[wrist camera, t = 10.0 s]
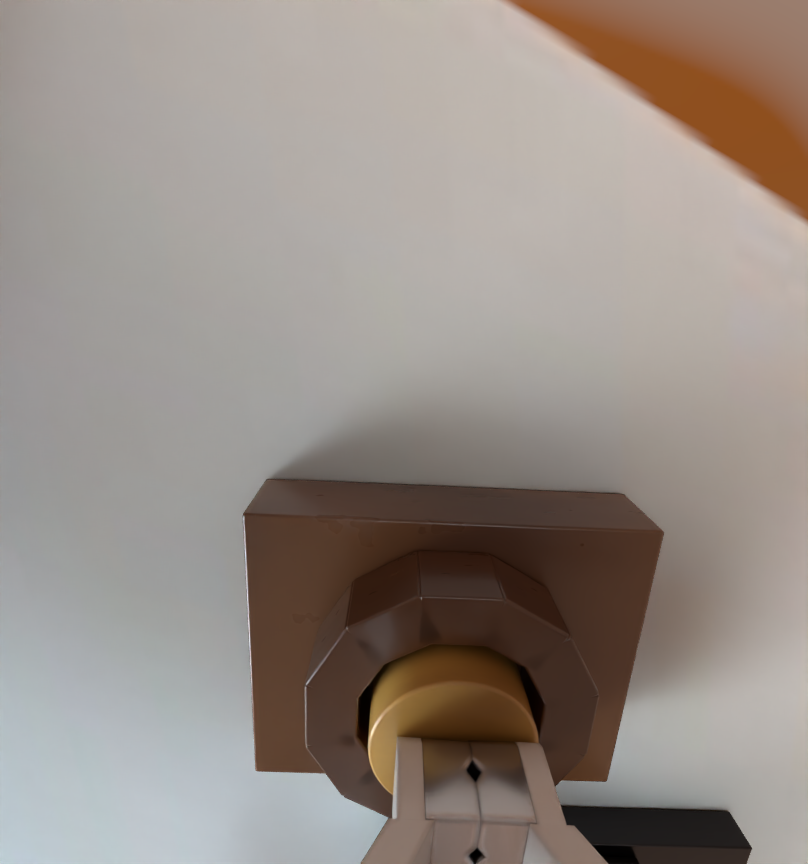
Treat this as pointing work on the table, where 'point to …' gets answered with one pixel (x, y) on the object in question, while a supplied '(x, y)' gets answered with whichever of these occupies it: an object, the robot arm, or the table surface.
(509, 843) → the robot arm
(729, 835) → the black lever base
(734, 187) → the table surface
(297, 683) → the block
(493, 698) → the bell button
